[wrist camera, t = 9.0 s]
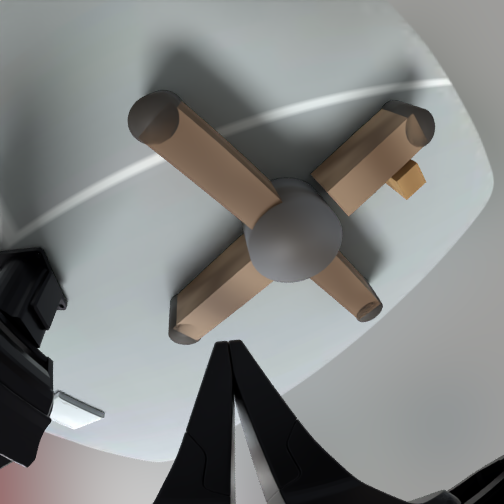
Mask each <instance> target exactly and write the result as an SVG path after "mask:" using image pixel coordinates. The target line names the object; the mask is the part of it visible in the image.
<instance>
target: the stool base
mask: <svg viewBox="0 0 504 504" xmlns="http://www.w3.org/2000/svg"><path fill="white" fill-rule="evenodd" d="M128 127H129V130H130V132H131V134H132V135H133V136H134V137H135V138H136V139H137V140H138V141H140V142H142V143H145V144H146V145H148V146H149V147H150V148H151V149H153V150H154V151H155V152H156V153H158V154H159V155H160V156H161V157H163V158H164V159H165V160H167V161H168V162H169V163H170V164H172V165H173V166H174V167H175V168H177V169H178V170H179V171H180V172H182V173H183V174H184V175H185V176H187V177H188V178H189V179H190V180H192V181H193V182H194V183H195V184H196V185H198V186H199V187H200V188H201V189H203V190H204V191H205V192H206V193H208V194H209V195H210V196H211V197H213V198H214V199H215V200H216V201H217V202H219V203H220V204H221V205H222V206H224V207H225V208H226V209H227V210H228V211H230V212H231V213H232V214H233V215H235V216H236V217H237V218H238V219H239V220H241V222H242V228H243V232H244V233H243V234H242V235H241V236H240V237H239V238H238V239H237V240H236V241H235V242H233V243H232V244H231V245H230V246H229V247H228V248H227V249H226V250H225V251H224V252H223V253H222V254H220V255H219V256H218V257H217V258H216V259H215V260H214V261H213V262H212V263H211V264H210V265H209V266H208V267H207V268H205V269H204V270H203V271H202V272H201V273H200V274H199V275H198V276H197V277H196V278H195V279H194V280H193V281H192V282H190V283H189V284H188V285H187V286H186V287H185V288H184V289H183V290H182V291H181V292H180V293H179V294H178V295H176V296H174V297H173V298H172V299H171V301H170V314H169V333H168V334H169V337H170V339H171V340H172V341H174V342H175V343H178V344H182V345H190V344H194V343H196V342H198V341H199V340H200V339H201V337H203V336H204V335H205V334H207V333H208V332H209V331H211V330H212V329H213V328H214V327H216V326H217V325H218V324H220V323H221V322H222V321H223V320H225V319H226V318H227V317H229V316H230V315H231V314H232V313H234V312H235V311H236V310H238V309H239V308H240V307H241V306H243V305H244V304H245V303H246V302H248V301H249V300H250V299H251V298H253V297H254V296H255V295H256V294H258V293H259V292H260V291H261V290H263V289H264V288H265V287H266V286H268V285H269V284H270V283H271V282H273V281H277V282H284V283H291V282H298V281H302V280H305V279H308V278H310V279H312V280H313V281H314V282H315V283H316V284H318V285H319V286H320V287H321V288H322V289H323V290H325V291H326V292H327V293H328V294H329V295H330V296H332V297H333V298H334V299H335V300H336V301H338V302H339V303H340V304H341V305H342V306H343V307H345V308H346V309H347V310H348V311H349V312H350V313H352V314H353V315H354V316H355V317H356V318H357V320H358V321H360V322H367V321H370V320H372V319H374V318H375V317H376V316H377V315H378V314H379V313H380V312H381V310H382V307H383V305H382V303H381V301H380V300H379V298H378V296H377V295H376V293H375V292H374V290H373V289H372V287H371V286H370V284H369V283H368V281H367V280H366V278H364V277H363V276H362V275H361V274H360V273H359V272H358V271H357V270H356V269H355V268H354V267H353V265H352V264H351V263H350V262H349V261H348V260H347V259H346V258H345V257H344V256H343V255H342V253H341V252H340V251H339V249H340V246H341V243H342V226H341V223H340V221H339V219H338V217H337V215H336V214H335V213H334V212H333V210H332V209H331V208H330V207H329V206H328V204H327V203H326V202H325V201H324V200H323V198H322V197H321V196H320V195H319V194H318V192H317V191H316V190H315V189H314V188H313V187H312V186H311V185H309V184H308V183H306V182H304V181H302V180H299V179H295V178H279V179H275V180H272V181H270V180H269V179H268V178H267V177H266V176H265V175H264V174H263V173H261V172H260V171H259V170H258V169H257V168H256V167H255V166H254V165H253V164H252V163H251V162H250V161H249V160H248V159H247V158H245V157H244V156H243V155H242V154H241V153H240V152H239V151H238V150H237V149H236V148H235V147H234V146H232V145H231V144H230V143H229V142H228V141H227V140H226V139H225V138H224V137H222V136H221V135H220V134H219V133H218V132H217V131H216V130H215V129H213V128H212V127H211V126H210V125H209V124H208V123H207V122H205V121H204V120H203V119H202V118H201V117H200V116H198V115H197V114H196V113H195V112H194V111H193V110H191V109H190V108H189V107H188V106H187V105H186V104H184V103H183V102H182V101H181V99H180V98H179V97H178V96H177V95H176V94H175V93H173V92H171V91H167V90H161V91H156V92H154V93H151V94H149V95H146V96H144V97H142V98H140V99H139V100H138V101H136V102H135V104H134V105H133V106H132V108H131V109H130V112H129V115H128ZM424 183H426V181H425V178H424V176H423V174H422V172H421V170H420V168H419V166H418V164H417V163H416V162H414V161H413V160H411V159H410V160H409V161H408V162H407V163H406V164H405V165H404V166H403V167H402V168H401V169H399V170H398V171H397V172H396V173H395V174H394V175H393V176H392V177H391V178H390V179H389V180H388V181H387V182H386V184H388V185H389V186H390V187H391V188H393V189H394V190H395V191H396V192H398V193H399V194H400V195H401V196H403V197H404V198H405V199H406V200H407V199H408V198H409V197H410V196H412V195H413V194H414V193H415V192H416V191H417V190H418V189H419V188H420V187H421V186H422V185H423V184H424Z"/></svg>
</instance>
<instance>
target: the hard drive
mask: <svg viewBox="0 0 504 504" xmlns="http://www.w3.org/2000/svg"><path fill="white" fill-rule="evenodd" d="M104 416H105V413H103V412H101V411H99V410H96V409H94V408H92V407H90V406H88V405H85V404H83V403H81V402H79V401H77V400H75V399H73V398H71V397H69V396H67V395H65V394H63V393H61V392H58V393H57V394H55V395H54V401H53V409H52V412H51V415H50V418H51V420H53V421H55V422H58V423H60V424H62V425H64V426H66V427H69V428H71V429H77V428H79V427H82V426H85V425H87V424H90V423H92V422H95V421H97V420H100V419H102V418H104Z"/></svg>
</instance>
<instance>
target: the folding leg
mask: <svg viewBox="0 0 504 504" xmlns="http://www.w3.org/2000/svg"><path fill="white" fill-rule="evenodd" d="M434 132H435V122H434V119H433V116H432V115H431V113H430V112H429V111H427V110H426V109H423V108H420V107H417V106H413V105H410V104H407V103H404V102H400V101H397V100H392V101H389V102H387V103H386V104H385V105H384V106H383V108H382V109H381V110H380V111H379V112H378V113H377V114H376V115H374V116H373V117H372V118H371V119H370V120H369V121H368V122H367V123H366V124H365V125H363V126H362V127H361V128H360V129H359V130H358V131H357V132H356V133H355V134H354V135H352V136H351V137H350V138H349V139H348V140H347V141H346V142H345V143H344V144H343V145H341V146H340V147H339V148H338V149H337V150H336V151H335V152H334V153H333V154H332V155H331V156H330V157H328V158H327V159H326V160H325V161H324V162H323V163H322V164H321V165H320V166H319V167H318V168H317V169H315V170H314V171H313V172H312V173H311V175H312V177H313V178H314V179H315V180H316V181H317V182H318V183H319V184H320V185H321V186H322V187H323V188H324V189H325V191H326V192H327V193H328V194H329V195H330V196H331V197H332V198H333V199H334V200H335V202H336V203H337V204H338V205H339V206H340V207H341V208H342V210H343V211H344V212H345V213H346V214H347V215H348V216H350V215H351V214H352V213H353V212H354V211H355V210H356V209H357V208H358V207H360V206H361V205H362V204H363V203H364V202H365V201H366V200H367V199H368V198H369V197H371V196H372V195H373V194H374V193H375V192H376V191H377V190H378V189H379V188H380V187H381V186H382V185H384V184H385V183H386V182H387V181H388V180H389V179H390V178H391V177H392V176H393V175H394V174H395V173H396V172H397V171H398V170H399V169H401V168H402V167H403V166H404V165H405V164H406V163H407V162H408V161H409V160H410V159H411V158H412V157H413V156H414V155H415V154H416V153H417V152H418V151H419V150H420V149H421V148H422V147H424V146H426V145H427V144H428V143H429V142H430V141H431V140H432V138H433V135H434Z"/></svg>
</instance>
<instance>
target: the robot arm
mask: <svg viewBox="0 0 504 504" xmlns="http://www.w3.org/2000/svg"><path fill="white" fill-rule="evenodd" d="M38 253H39V254H40V255H39V254H38ZM66 307H67V302H66V300H65V298H64V296H63V293H62V291H61V289H60V287H59V285H58V282H57V280H56V278H55V276H54V273H53V271H52V269H51V267H50V264H49V262H48V259H47V257H46V254H45V252H44V250H43V249H42V248H29V249H20V250H12V251H3V252H0V469H1V468H3V467H4V466H6V465H8V464H10V463H12V462H15V463H17V464H19V465H22V466H23V467H29V466H30V465H31V463H32V462H33V461H34V460H35V458H36V454H37V450H38V446H39V442H40V439H41V437H42V435H43V433H44V431H45V429H46V428H47V427H48V425H49V424H50V423H51V418H50V415H51V412H52V409H53V401H54V392H53V361H52V360H51V359H50V358H49V357H46V356H45V355H44V354H43V353H42V352H41V351H40V350H39V349H37V348H40V345H41V342H42V339H43V336H44V334H45V331H46V330H49V328H50V326H51V323H52V321H53V318H54V316H55V313H56V310H65V309H66ZM234 397H235V402H236V406H237V410H238V413H239V417H240V420H241V424H242V427H243V431H244V434H245V437H246V441H247V444H248V447H249V450H250V454H251V457H252V460H253V463H254V466H255V469H256V472H257V475H258V478H259V481H260V484H261V487H262V490H263V493H264V496H265V499H266V502H267V504H504V455H503V456H501V457H499V458H498V459H496V460H494V461H493V462H491V463H489V464H487V465H485V466H484V467H482V468H481V469H480V470H478V471H476V472H475V473H473V474H472V475H470V476H469V477H467V478H466V479H464V480H463V481H461V482H460V483H458V484H457V485H456V486H454V487H453V488H451V489H449V490H448V491H446V490H441V491H438V492H435V493H432V494H430V495H427V496H424V497H421V498H418V499H415V500H412V501H409V502H406V501H403V500H401V499H398V498H396V497H393V496H391V495H389V494H386V493H384V492H382V491H380V490H378V489H375V488H373V487H371V486H369V485H367V484H365V483H363V482H361V481H360V480H358V479H357V478H355V477H354V476H353V475H352V474H350V473H349V472H348V471H347V470H346V469H345V468H343V467H342V466H341V465H340V464H339V463H338V462H337V461H336V460H335V459H334V458H332V456H330V455H329V454H328V453H327V452H326V451H325V450H324V449H323V448H322V447H321V446H320V445H319V444H318V443H317V442H316V441H315V440H314V438H313V437H312V436H311V435H310V434H309V433H308V431H307V430H306V429H305V428H304V426H303V425H302V424H301V423H300V421H299V420H296V419H297V417H296V416H295V415H294V413H293V412H292V411H291V409H290V408H289V407H288V405H287V404H286V403H285V401H284V400H283V399H282V397H281V396H280V394H279V393H278V392H277V390H276V389H275V388H274V386H273V385H272V383H271V382H270V381H269V379H268V378H267V376H266V375H265V374H264V372H263V371H262V369H261V368H260V367H259V365H258V364H257V362H256V361H255V359H254V358H253V356H252V355H251V354H250V352H249V351H248V349H247V348H246V346H245V345H244V343H243V342H242V341H241V340H231V341H229V342H227V341H219V342H216V343H215V344H214V347H213V350H212V353H211V356H210V359H209V362H208V365H207V368H206V371H205V374H204V377H203V380H202V383H201V386H200V389H199V392H198V395H197V398H196V401H195V404H194V407H193V410H192V413H191V416H190V419H189V423H188V426H187V429H186V432H185V434H184V437H183V440H182V443H181V446H180V449H179V451H178V454H177V457H176V459H175V461H174V463H173V465H172V468H171V470H170V472H169V474H168V476H167V478H166V480H165V481H164V483H163V485H162V488H161V489H160V491H159V493H158V495H157V497H156V499H155V501H154V502H153V504H236V502H235V402H234Z"/></svg>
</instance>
